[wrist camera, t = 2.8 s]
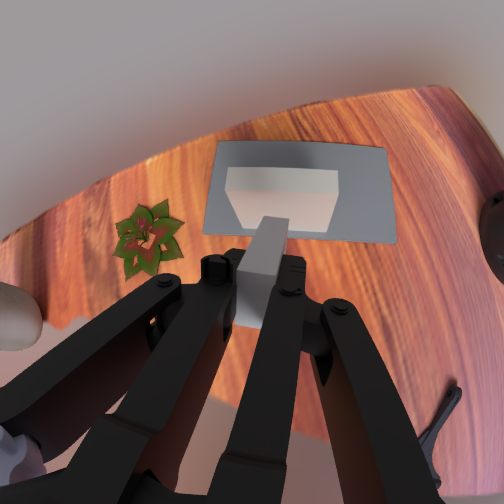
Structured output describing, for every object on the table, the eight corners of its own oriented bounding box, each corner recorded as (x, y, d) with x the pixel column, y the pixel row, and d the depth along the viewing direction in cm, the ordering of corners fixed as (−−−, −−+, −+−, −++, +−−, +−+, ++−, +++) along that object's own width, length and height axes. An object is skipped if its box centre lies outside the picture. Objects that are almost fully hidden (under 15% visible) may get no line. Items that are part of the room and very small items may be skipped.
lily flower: (199, 265, 35) (187, 256, 31) (121, 296, 35) (101, 291, 31) (177, 187, 39) (165, 171, 34) (108, 220, 39) (90, 208, 35)
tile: (326, 211, 34) (337, 167, 24) (326, 232, 33) (338, 194, 23) (245, 207, 35) (228, 164, 26) (242, 228, 34) (224, 189, 25)
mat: (385, 150, 35) (385, 148, 35) (395, 244, 32) (397, 243, 31) (218, 143, 39) (218, 141, 39) (203, 234, 36) (202, 233, 35)
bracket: (483, 396, 25) (494, 399, 22) (432, 487, 22) (439, 494, 19) (411, 369, 28) (420, 371, 26) (353, 470, 26) (357, 479, 23)
